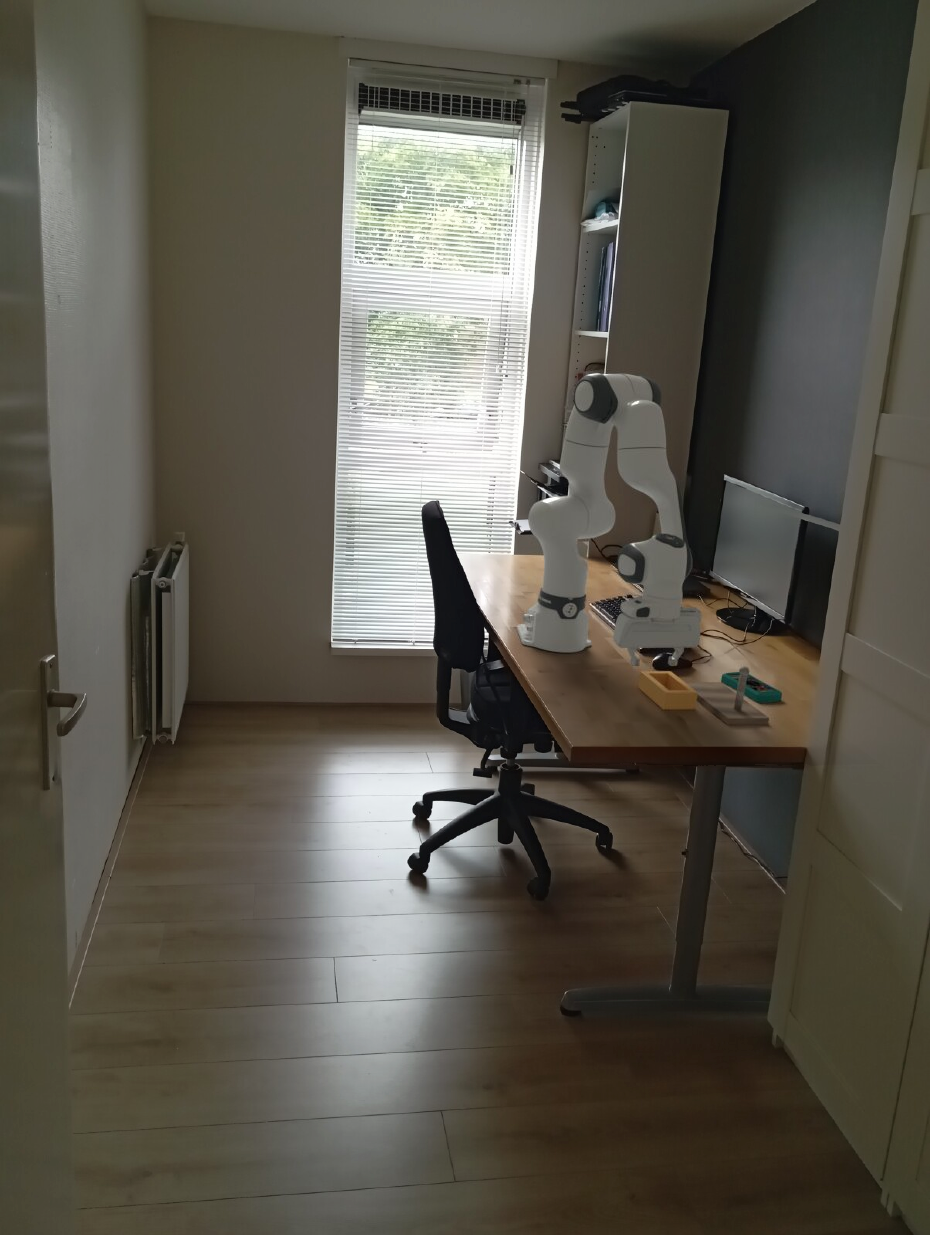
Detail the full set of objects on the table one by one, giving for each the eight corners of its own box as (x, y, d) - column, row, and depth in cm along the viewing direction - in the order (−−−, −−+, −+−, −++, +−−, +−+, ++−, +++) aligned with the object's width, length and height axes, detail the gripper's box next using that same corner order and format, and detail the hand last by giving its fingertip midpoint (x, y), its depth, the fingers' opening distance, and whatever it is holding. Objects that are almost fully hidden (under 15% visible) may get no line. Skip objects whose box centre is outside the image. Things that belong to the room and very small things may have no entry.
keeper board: (681, 688, 241) (689, 641, 237) (719, 688, 243) (727, 642, 240) (727, 724, 220) (736, 674, 217) (768, 724, 223) (777, 674, 220)
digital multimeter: (757, 705, 236) (760, 693, 235) (719, 682, 249) (721, 671, 248) (783, 703, 239) (785, 691, 238) (743, 681, 252) (745, 670, 251)
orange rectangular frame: (637, 687, 239) (640, 671, 238) (668, 687, 241) (670, 671, 240) (663, 709, 226) (665, 692, 225) (694, 709, 228) (697, 692, 227)
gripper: (696, 603, 235) (688, 660, 239) (614, 603, 230) (607, 661, 233) (709, 610, 229) (700, 669, 233) (625, 610, 224) (618, 670, 228)
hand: (653, 665), depth 233 cm, fingers open, 8 cm apart
